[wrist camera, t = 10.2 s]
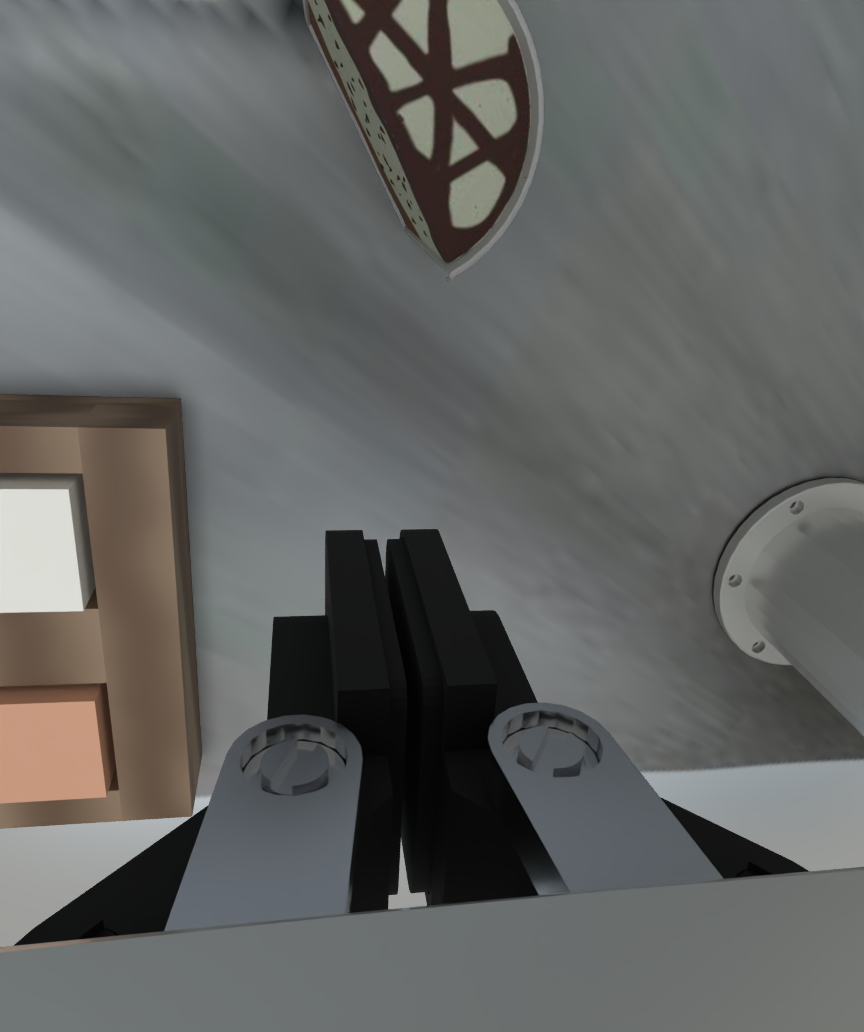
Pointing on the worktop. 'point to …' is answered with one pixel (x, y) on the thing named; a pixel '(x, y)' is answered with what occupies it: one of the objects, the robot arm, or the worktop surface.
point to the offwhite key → (44, 543)
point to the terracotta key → (55, 742)
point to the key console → (115, 598)
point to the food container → (440, 111)
